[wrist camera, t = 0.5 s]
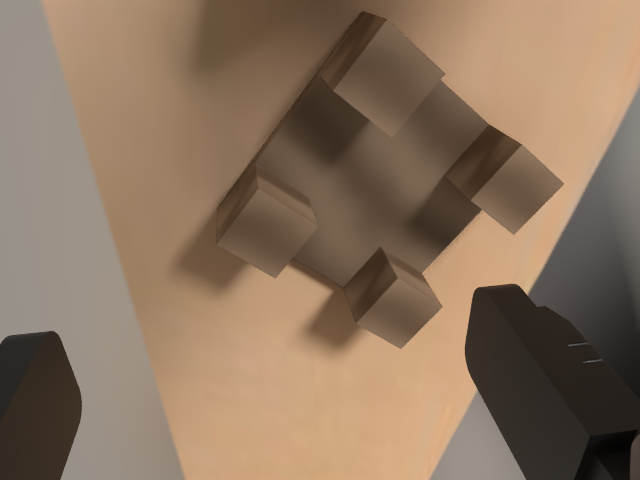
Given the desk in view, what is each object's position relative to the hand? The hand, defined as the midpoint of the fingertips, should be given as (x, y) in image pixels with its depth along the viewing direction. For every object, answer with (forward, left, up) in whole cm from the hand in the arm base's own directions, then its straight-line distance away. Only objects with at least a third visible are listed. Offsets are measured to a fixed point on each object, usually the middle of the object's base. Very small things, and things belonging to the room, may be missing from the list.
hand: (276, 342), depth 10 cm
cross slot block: (0, +11, -25) cm, 28 cm away
